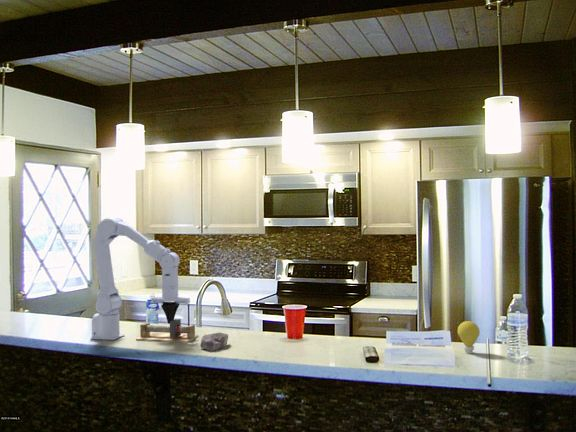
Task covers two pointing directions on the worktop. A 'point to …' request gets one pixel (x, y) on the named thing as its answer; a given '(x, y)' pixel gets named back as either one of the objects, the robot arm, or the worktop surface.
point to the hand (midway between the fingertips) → (170, 323)
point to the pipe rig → (148, 336)
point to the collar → (174, 328)
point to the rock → (214, 341)
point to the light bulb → (468, 335)
